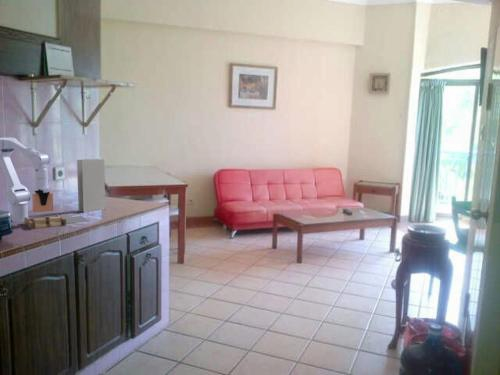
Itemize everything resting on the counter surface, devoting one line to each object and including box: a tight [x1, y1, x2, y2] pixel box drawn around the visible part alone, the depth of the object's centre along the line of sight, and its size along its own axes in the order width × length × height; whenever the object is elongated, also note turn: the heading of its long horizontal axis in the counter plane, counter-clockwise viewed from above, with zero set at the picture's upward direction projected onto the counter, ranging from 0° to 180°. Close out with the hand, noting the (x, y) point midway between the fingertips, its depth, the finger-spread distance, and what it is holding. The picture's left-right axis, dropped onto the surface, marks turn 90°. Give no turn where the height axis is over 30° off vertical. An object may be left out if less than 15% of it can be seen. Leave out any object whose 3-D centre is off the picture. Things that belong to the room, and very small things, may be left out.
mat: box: [63, 215, 90, 225], centre depth 240 cm, size 14×12×1 cm
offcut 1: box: [32, 217, 46, 229], centre depth 222 cm, size 3×5×4 cm, turn 127°
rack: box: [24, 213, 67, 230], centre depth 228 cm, size 15×16×4 cm
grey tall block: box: [76, 158, 106, 213], centre depth 265 cm, size 14×6×30 cm, turn 141°
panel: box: [31, 192, 54, 213], centre depth 229 cm, size 3×9×9 cm, turn 127°
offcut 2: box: [48, 216, 62, 227], centre depth 226 cm, size 3×5×4 cm, turn 128°
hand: (42, 204), depth 229 cm, fingers closed on panel, 3 cm apart
